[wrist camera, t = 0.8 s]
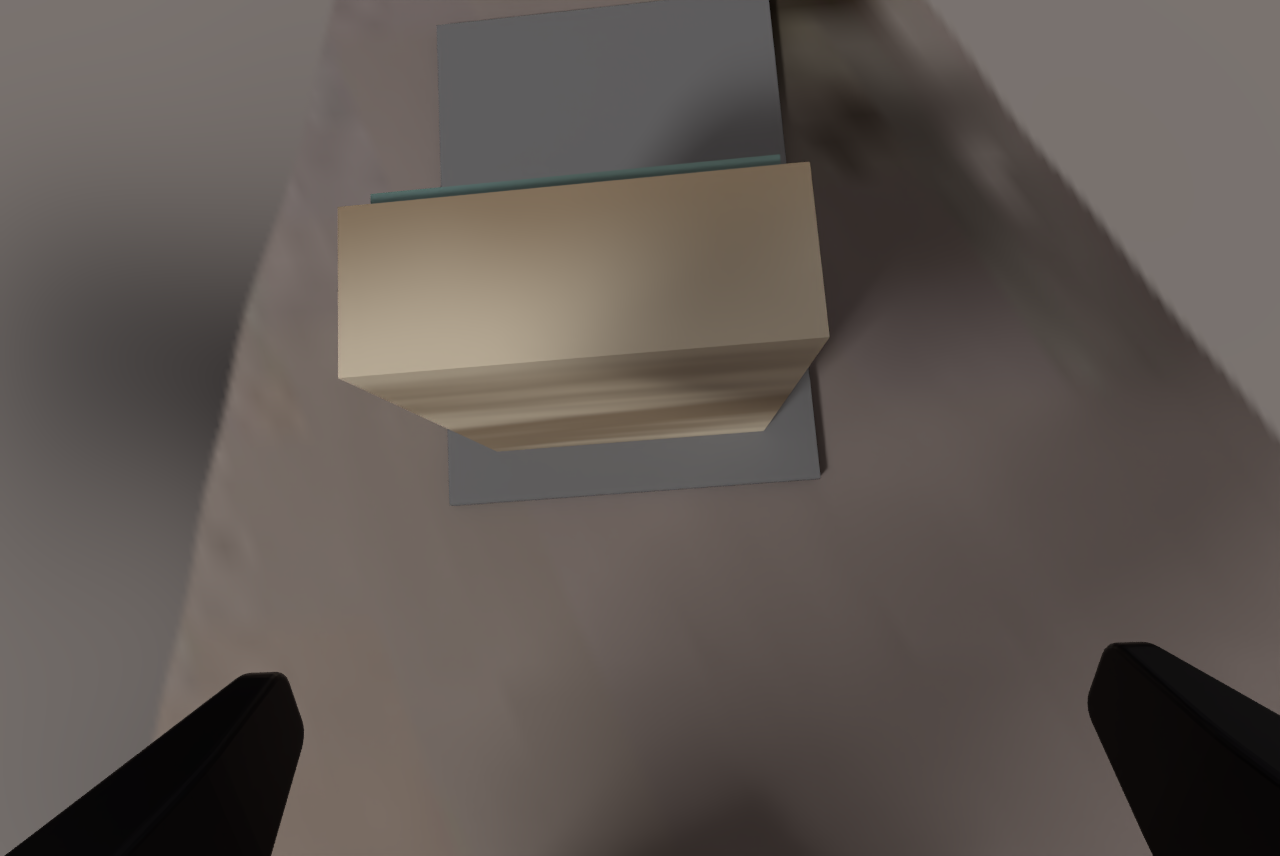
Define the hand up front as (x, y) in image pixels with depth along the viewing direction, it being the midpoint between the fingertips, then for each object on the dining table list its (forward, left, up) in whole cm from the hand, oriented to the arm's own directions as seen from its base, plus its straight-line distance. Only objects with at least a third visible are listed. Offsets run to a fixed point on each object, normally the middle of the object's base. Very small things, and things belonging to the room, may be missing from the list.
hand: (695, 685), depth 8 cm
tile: (+6, 0, -13) cm, 14 cm away
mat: (+11, 0, -13) cm, 17 cm away
